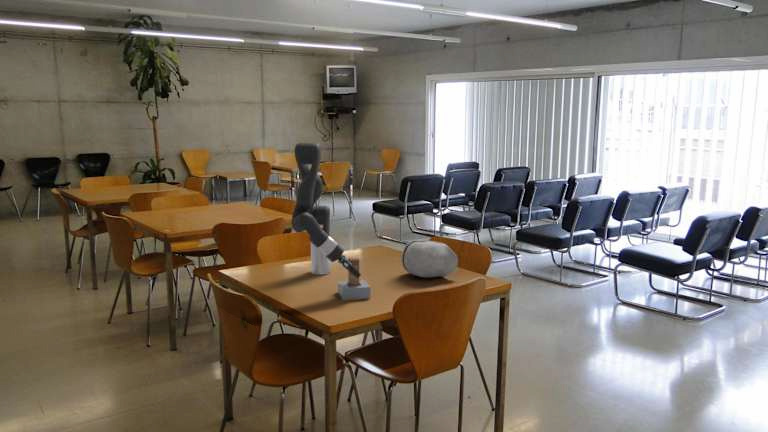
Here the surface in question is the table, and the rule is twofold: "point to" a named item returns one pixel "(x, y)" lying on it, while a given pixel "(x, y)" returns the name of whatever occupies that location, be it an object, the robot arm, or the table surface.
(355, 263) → the peg
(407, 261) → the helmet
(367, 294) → the socket
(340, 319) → the table surface
